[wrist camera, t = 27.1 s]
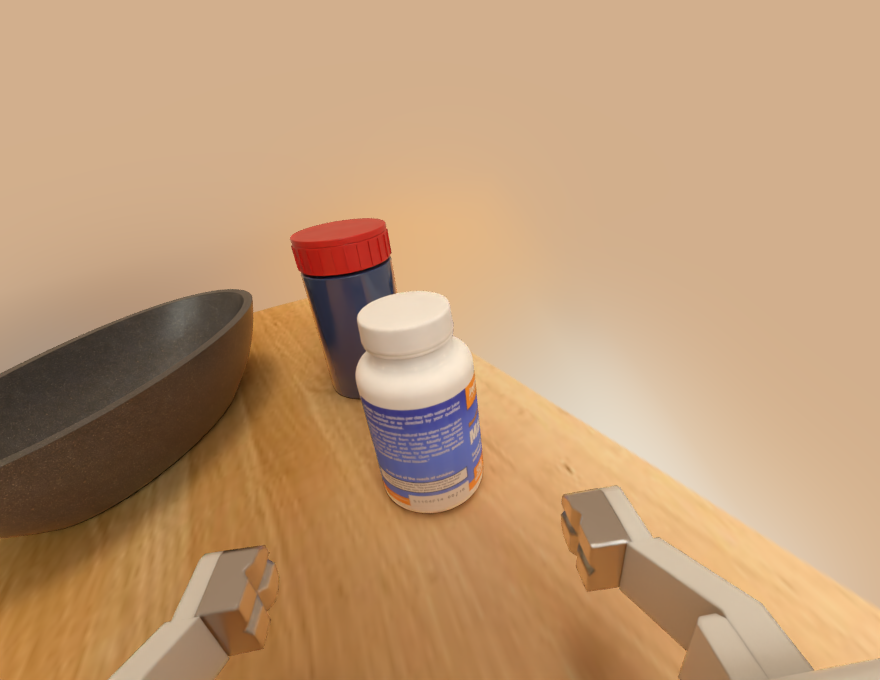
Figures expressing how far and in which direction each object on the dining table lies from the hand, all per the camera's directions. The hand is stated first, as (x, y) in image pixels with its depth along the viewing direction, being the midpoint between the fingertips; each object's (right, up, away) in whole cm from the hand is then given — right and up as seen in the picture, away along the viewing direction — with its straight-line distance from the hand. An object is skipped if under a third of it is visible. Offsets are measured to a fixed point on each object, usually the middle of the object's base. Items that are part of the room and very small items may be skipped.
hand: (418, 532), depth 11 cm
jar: (-5, +2, +20) cm, 20 cm away
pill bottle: (0, -2, +10) cm, 11 cm away
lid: (-6, +12, +15) cm, 20 cm away
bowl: (-19, -1, +16) cm, 24 cm away
